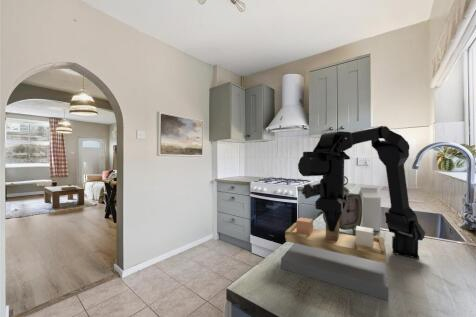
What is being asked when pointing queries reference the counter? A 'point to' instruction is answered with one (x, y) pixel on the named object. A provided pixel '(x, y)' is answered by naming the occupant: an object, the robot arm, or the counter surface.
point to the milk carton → (370, 208)
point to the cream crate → (364, 236)
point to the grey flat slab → (338, 269)
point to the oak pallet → (338, 243)
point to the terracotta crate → (305, 226)
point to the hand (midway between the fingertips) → (332, 228)
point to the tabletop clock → (350, 211)
